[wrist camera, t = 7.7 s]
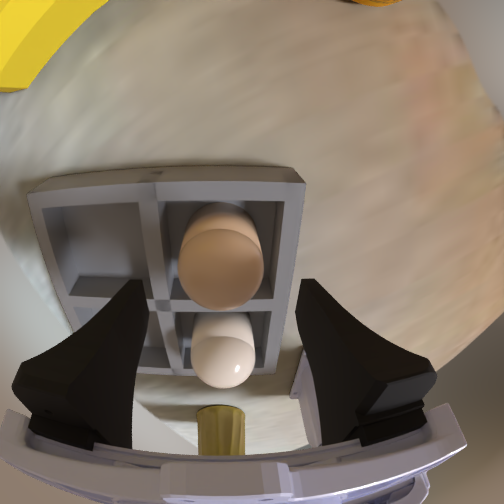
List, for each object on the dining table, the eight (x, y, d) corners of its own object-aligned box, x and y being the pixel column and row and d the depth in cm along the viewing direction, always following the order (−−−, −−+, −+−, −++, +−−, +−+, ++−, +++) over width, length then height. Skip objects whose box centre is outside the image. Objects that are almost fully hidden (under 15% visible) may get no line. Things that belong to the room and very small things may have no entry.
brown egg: (254, 265, 19) (265, 328, 14) (187, 265, 18) (177, 328, 13) (259, 202, 16) (274, 253, 12) (183, 202, 16) (166, 253, 11)
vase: (237, 425, 34) (245, 518, 21) (193, 421, 32) (193, 517, 20) (250, 406, 31) (263, 514, 19) (200, 401, 29) (202, 515, 17)
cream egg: (249, 340, 23) (256, 398, 18) (195, 340, 22) (192, 399, 17) (252, 300, 20) (261, 362, 16) (190, 300, 20) (184, 363, 15)
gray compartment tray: (270, 346, 24) (274, 373, 22) (101, 343, 23) (93, 367, 20) (292, 168, 16) (306, 183, 14) (50, 177, 15) (26, 193, 12)
